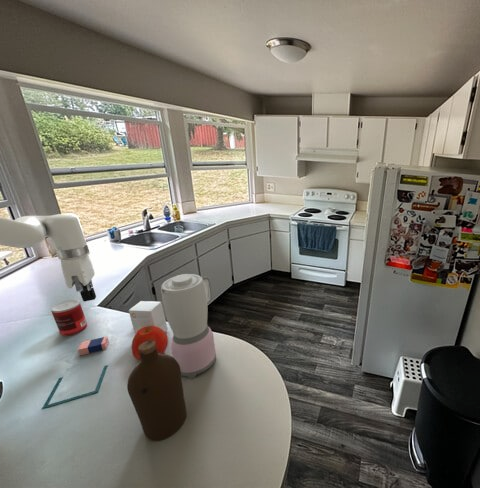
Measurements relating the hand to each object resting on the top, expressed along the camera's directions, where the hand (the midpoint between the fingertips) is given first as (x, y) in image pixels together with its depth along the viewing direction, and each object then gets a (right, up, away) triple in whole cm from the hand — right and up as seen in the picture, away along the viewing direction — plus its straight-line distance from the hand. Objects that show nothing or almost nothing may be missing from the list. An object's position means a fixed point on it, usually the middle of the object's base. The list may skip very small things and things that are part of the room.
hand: (90, 299), depth 88 cm
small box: (+17, -15, +7) cm, 24 cm away
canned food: (-14, -14, +8) cm, 21 cm away
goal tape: (+10, -22, -14) cm, 28 cm away
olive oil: (+42, -27, -23) cm, 55 cm away
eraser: (+2, -17, -1) cm, 17 cm away
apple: (+23, -19, -2) cm, 30 cm away
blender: (+41, -20, -4) cm, 46 cm away
